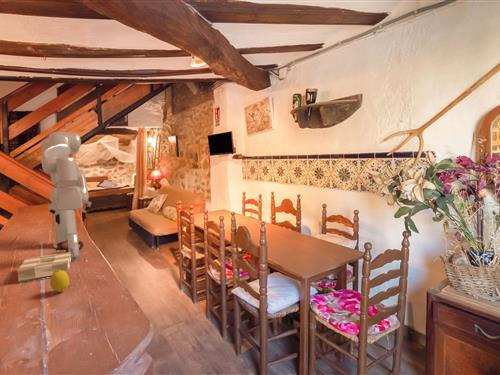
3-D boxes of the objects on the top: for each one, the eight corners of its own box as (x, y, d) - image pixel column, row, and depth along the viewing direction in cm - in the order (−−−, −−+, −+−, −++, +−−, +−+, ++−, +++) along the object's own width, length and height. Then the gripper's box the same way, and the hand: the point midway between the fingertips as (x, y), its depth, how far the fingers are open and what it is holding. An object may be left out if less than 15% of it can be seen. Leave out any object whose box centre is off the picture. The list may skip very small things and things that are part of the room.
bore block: (27, 269, 126) (26, 258, 126) (71, 262, 133) (70, 251, 133) (18, 283, 112) (17, 270, 111) (68, 274, 119) (67, 262, 119)
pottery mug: (56, 260, 138) (51, 244, 140) (62, 263, 147) (58, 247, 149) (84, 250, 143) (79, 234, 145) (89, 253, 151) (84, 238, 153)
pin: (69, 259, 138) (67, 233, 137) (79, 257, 140) (77, 232, 139) (69, 261, 135) (67, 235, 133) (79, 260, 136) (77, 234, 135)
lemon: (66, 287, 107) (64, 265, 107) (72, 291, 104) (70, 269, 103) (48, 293, 103) (46, 270, 102) (54, 297, 100) (52, 274, 99)
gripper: (90, 183, 141) (93, 218, 142) (46, 185, 133) (49, 223, 135) (89, 183, 134) (92, 221, 136) (43, 186, 126) (47, 226, 128)
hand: (71, 222), depth 135 cm, fingers open, 9 cm apart
